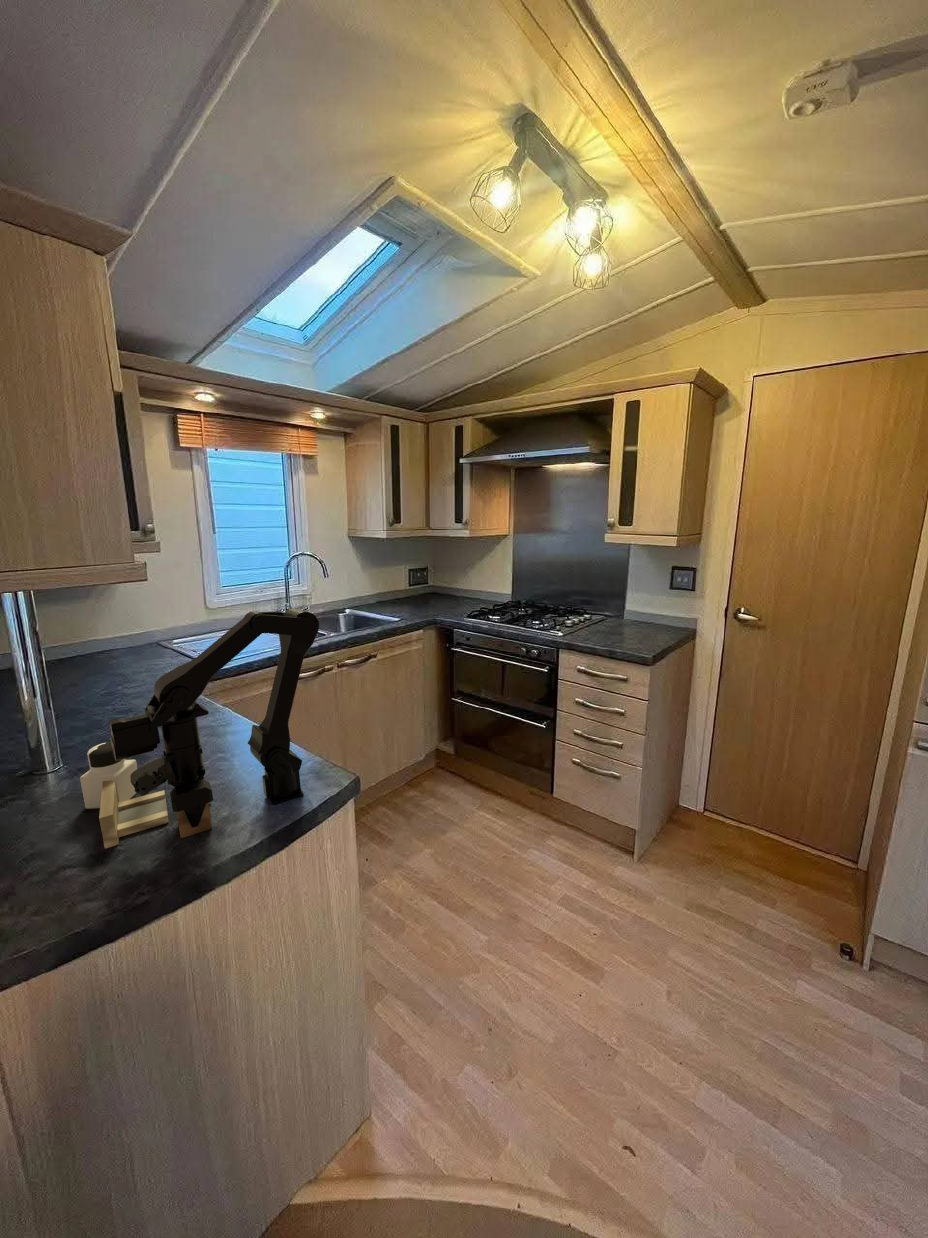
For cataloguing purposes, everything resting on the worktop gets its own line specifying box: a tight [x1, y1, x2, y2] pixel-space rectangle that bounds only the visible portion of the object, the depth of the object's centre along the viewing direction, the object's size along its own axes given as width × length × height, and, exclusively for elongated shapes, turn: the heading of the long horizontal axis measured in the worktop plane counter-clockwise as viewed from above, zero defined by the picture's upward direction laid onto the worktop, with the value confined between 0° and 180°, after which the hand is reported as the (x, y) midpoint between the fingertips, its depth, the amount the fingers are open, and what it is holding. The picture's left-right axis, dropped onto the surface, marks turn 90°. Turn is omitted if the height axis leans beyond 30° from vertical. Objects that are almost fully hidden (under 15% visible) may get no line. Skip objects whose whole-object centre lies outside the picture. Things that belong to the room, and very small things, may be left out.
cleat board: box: [98, 781, 169, 850], centre depth 98 cm, size 10×16×6 cm, turn 33°
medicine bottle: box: [79, 741, 138, 810], centre depth 104 cm, size 7×7×12 cm
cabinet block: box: [176, 801, 213, 839], centre depth 95 cm, size 6×5×6 cm
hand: (193, 819), depth 95 cm, fingers closed on cabinet block, 5 cm apart
